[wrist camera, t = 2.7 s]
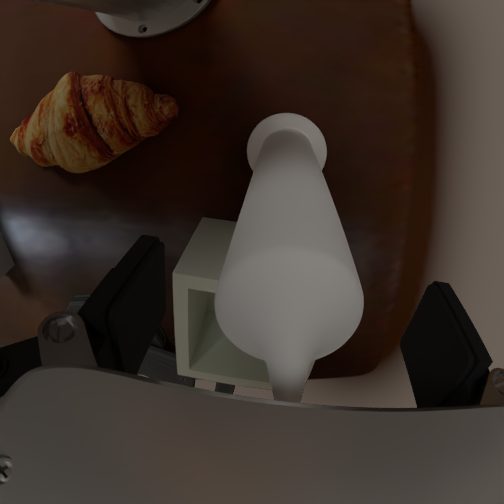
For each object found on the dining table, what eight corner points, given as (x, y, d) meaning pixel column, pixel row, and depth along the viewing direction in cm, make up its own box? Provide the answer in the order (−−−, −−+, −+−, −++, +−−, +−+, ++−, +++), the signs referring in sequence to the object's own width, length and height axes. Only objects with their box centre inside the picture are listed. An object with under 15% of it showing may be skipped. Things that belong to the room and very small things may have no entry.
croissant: (44, 151, 33) (16, 199, 29) (9, 92, 25) (-31, 138, 21) (199, 126, 30) (181, 182, 26) (175, 37, 22) (144, 79, 18)
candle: (335, 175, 29) (431, 439, 7) (263, 196, 30) (213, 470, 9) (312, 103, 26) (449, 231, 4) (236, 127, 27) (70, 324, 6)
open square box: (202, 217, 32) (172, 272, 24) (325, 235, 32) (338, 298, 23) (198, 310, 38) (177, 374, 30) (300, 326, 38) (301, 393, 30)
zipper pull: (227, 413, 39) (59, 361, 38) (233, 375, 45) (78, 331, 44) (239, 375, 34) (45, 317, 34) (245, 335, 40) (69, 287, 39)
